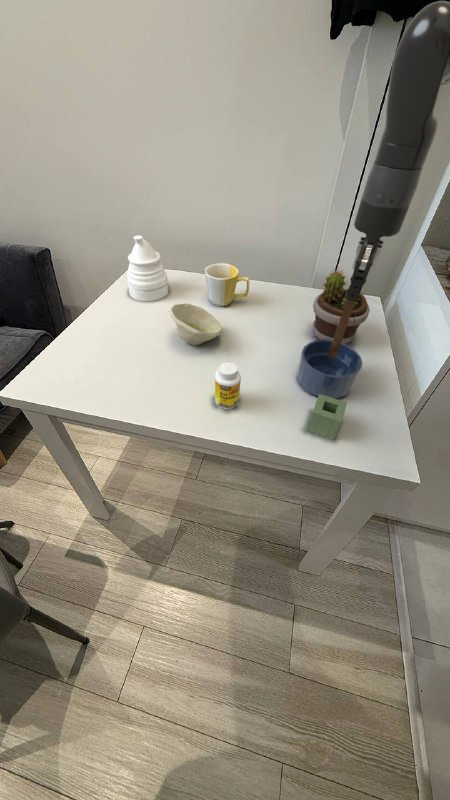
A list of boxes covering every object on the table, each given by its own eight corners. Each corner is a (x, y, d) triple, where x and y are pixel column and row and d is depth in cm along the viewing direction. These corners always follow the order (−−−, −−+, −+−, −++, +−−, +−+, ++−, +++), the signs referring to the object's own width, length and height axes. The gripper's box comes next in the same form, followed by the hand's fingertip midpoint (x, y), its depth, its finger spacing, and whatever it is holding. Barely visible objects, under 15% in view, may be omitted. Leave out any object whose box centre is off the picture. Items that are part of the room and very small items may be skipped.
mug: (200, 306, 104) (200, 275, 96) (211, 291, 111) (211, 261, 103) (242, 314, 101) (244, 282, 94) (250, 299, 108) (253, 268, 100)
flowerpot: (361, 329, 98) (387, 263, 83) (352, 358, 88) (380, 289, 74) (313, 317, 102) (330, 251, 87) (300, 343, 92) (316, 275, 77)
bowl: (229, 351, 88) (231, 319, 81) (178, 360, 85) (175, 328, 78) (213, 321, 98) (214, 291, 91) (167, 329, 95) (163, 297, 88)
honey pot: (160, 303, 104) (152, 245, 91) (123, 297, 106) (110, 240, 93) (173, 285, 113) (168, 229, 100) (139, 280, 115) (129, 224, 102)
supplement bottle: (216, 411, 74) (216, 377, 66) (213, 393, 77) (213, 360, 70) (240, 409, 74) (243, 375, 67) (236, 391, 78) (239, 358, 71)
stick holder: (338, 420, 73) (347, 402, 68) (333, 440, 69) (341, 421, 65) (312, 412, 74) (319, 393, 70) (306, 430, 70) (312, 412, 66)
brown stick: (336, 354, 76) (366, 271, 62) (335, 359, 75) (364, 275, 61) (328, 352, 77) (356, 269, 62) (327, 357, 76) (355, 273, 61)
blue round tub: (355, 372, 84) (365, 349, 79) (346, 408, 75) (357, 384, 70) (303, 357, 88) (309, 334, 82) (289, 389, 79) (295, 366, 74)
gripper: (409, 214, 47) (367, 319, 60) (412, 191, 56) (375, 286, 68) (356, 206, 49) (326, 309, 62) (367, 185, 58) (339, 278, 70)
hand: (352, 296), depth 65 cm, fingers closed on brown stick, 2 cm apart
